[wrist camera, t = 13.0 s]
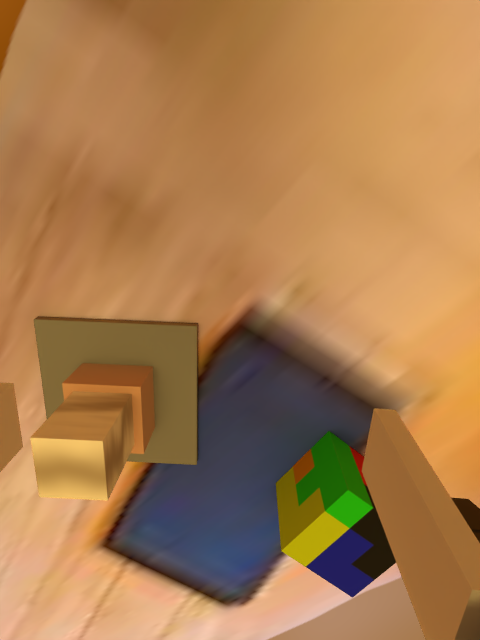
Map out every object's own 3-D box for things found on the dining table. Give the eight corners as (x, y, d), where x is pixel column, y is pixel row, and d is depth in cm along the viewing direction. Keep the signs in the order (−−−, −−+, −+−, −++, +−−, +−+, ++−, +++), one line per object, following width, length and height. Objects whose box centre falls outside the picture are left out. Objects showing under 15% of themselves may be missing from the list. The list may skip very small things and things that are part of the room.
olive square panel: (38, 316, 43) (33, 319, 43) (197, 323, 43) (196, 326, 42) (55, 452, 49) (52, 457, 48) (197, 459, 49) (196, 464, 48)
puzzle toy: (333, 522, 51) (352, 597, 42) (275, 482, 49) (281, 550, 40) (388, 474, 49) (421, 542, 39) (328, 430, 47) (348, 490, 37)
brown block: (73, 391, 39) (30, 437, 32) (131, 393, 39) (102, 441, 32) (78, 441, 41) (39, 496, 34) (134, 444, 41) (107, 500, 34)
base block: (82, 363, 44) (61, 383, 39) (152, 366, 44) (140, 386, 39) (88, 424, 46) (69, 450, 42) (154, 427, 46) (143, 453, 41)
